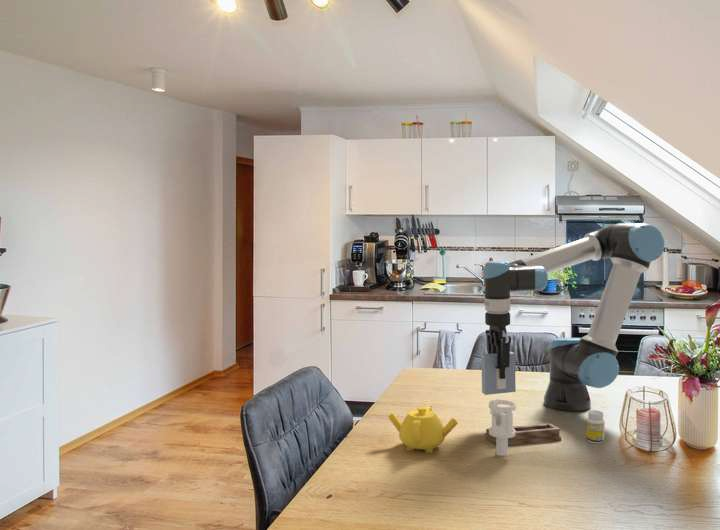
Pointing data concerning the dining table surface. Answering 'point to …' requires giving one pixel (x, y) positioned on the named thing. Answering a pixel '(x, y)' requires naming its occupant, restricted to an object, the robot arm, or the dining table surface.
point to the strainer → (502, 424)
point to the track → (531, 434)
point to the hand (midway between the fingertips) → (498, 387)
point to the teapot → (422, 429)
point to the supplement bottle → (595, 427)
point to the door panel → (490, 374)
